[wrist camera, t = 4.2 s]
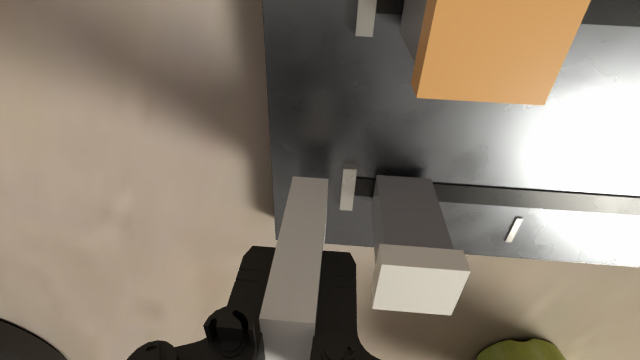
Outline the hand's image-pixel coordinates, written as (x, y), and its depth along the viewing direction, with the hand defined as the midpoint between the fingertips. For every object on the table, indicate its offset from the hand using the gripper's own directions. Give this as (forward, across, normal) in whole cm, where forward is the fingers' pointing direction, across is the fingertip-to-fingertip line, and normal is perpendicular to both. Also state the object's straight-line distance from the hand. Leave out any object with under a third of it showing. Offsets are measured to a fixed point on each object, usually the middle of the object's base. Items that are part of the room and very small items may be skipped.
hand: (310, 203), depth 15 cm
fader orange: (+1, +4, +8) cm, 9 cm away
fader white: (+1, +4, 0) cm, 4 cm away
